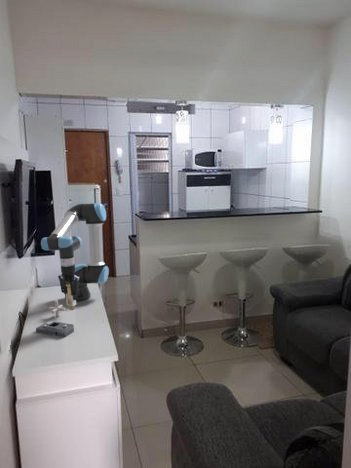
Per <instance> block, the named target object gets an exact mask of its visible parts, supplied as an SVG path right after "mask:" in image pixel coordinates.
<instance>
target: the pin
mask: <svg viewBox="0 0 351 468" xmlns="http://www.w3.org/2000/svg"><path fill="white" fill-rule="evenodd" d="M66 287H67V292H68V303H69V305H68V310H69V311H74V310H76V309H75V307H76V306H72V300H71V295H72V291H71V286H70V283H68V284H66Z"/></svg>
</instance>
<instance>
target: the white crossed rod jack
mask: <svg viewBox="0 0 351 468" xmlns="http://www.w3.org/2000/svg"><path fill="white" fill-rule="evenodd" d="M63 306H64V305H63V304H59V300H54V306H49V307H48V310H49V311H51V314H55V318H60V311H62V312H64V311H66V307H63Z"/></svg>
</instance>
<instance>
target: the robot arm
mask: <svg viewBox="0 0 351 468" xmlns="http://www.w3.org/2000/svg"><path fill="white" fill-rule="evenodd" d="M106 220H107V211H106V207H105V206H104V205H103V204H102V203H97V202H95V203H79V204H76V205H73V206H72V207H70V208H69V209H68V210H66V212H65V213H64V215H63V218H62V219H61V221H60V222H59V224H58V225H57V226H56V228H55V229H53V231H52V232H51V234H50V235H49V236H48V237H47V236H46V237H43V238H41V240H40V246H41V249H42V250H44V251H58V252H59V263H60V272H61V274H60V275H58V276H57V278H58V280H59V284H60V285H59V286H60V291H61V294H62V293H63V294H64V298H65V302H66V306H69V303H68V292H67V287H66V284H68V283H70V286H71V291H72V295H71V300H72V306H74V307H76V306H77V302H81V301H86V300H88V299H90V298H91V292H90V289H89V286H88V284H97V285H98V284H105V283H106V282H107V280H108V277H109V273H110V269H109V267H108V266H107V265H106V263H105V261H104V256H103V255H104V254H103V233H102V226H103V225H104V222H105V221H106ZM78 222H85V225H86V226H87V227H88V229H87V230H88V249H89V262H88V263H87V265H86V263H78V264H75V253H74V252H75V251H76V250H78V249H80V248H81V247H82V245H83V239H82V238H81V237H80V236H78V235H73V236H69V235H68V233H69V232H70V231H71V229H72V228H73V227H74V225H77V223H78ZM67 235H68V236H67Z"/></svg>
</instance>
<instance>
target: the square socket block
mask: <svg viewBox="0 0 351 468" xmlns="http://www.w3.org/2000/svg"><path fill="white" fill-rule="evenodd" d="M74 326H75V325H74V324H71V323H66V322H62V321H61V322H59V321H52V322H50V323H46V322H44V323H43V324H41V325H39V326H37V327H36V328H35V332H37V333H42V334H47V335H52V336H57V337H63V338H67V337H68V336H70V335H71V334H73V333H74V332H75V327H74Z"/></svg>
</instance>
